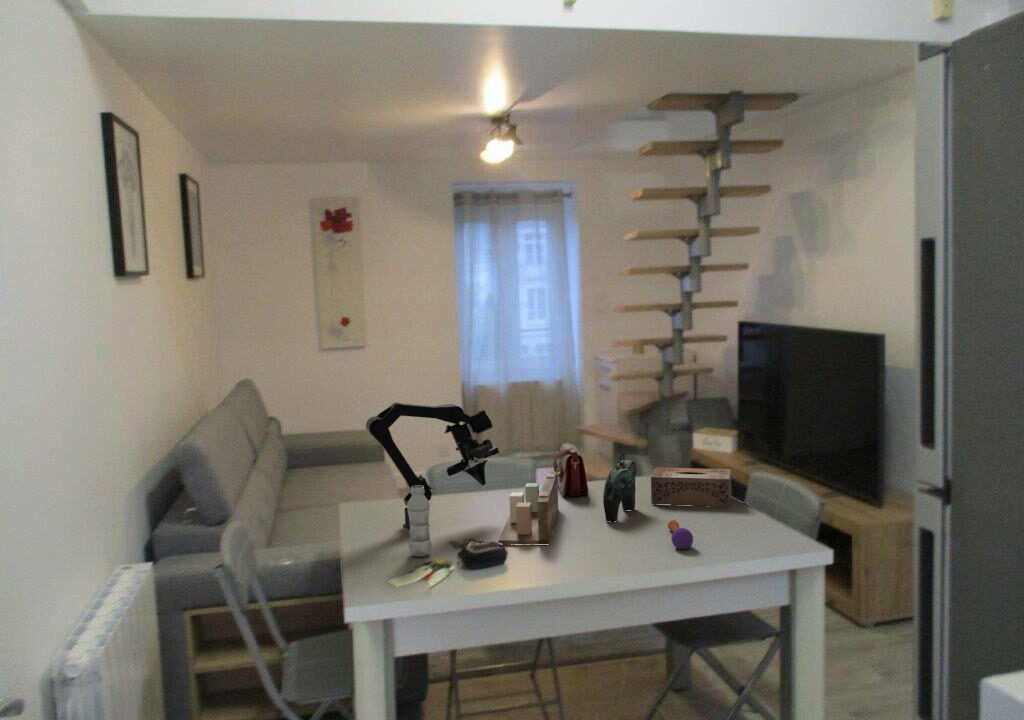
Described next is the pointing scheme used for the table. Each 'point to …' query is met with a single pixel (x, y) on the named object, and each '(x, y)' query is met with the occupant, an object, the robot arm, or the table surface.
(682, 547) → the purple maraca
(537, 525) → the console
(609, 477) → the dark green arched piece
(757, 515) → the table surface
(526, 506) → the pink rectangular block
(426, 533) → the plastic bottle
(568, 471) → the handbag
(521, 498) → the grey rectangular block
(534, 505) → the pale green block
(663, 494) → the tissue box cover
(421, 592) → the table surface
